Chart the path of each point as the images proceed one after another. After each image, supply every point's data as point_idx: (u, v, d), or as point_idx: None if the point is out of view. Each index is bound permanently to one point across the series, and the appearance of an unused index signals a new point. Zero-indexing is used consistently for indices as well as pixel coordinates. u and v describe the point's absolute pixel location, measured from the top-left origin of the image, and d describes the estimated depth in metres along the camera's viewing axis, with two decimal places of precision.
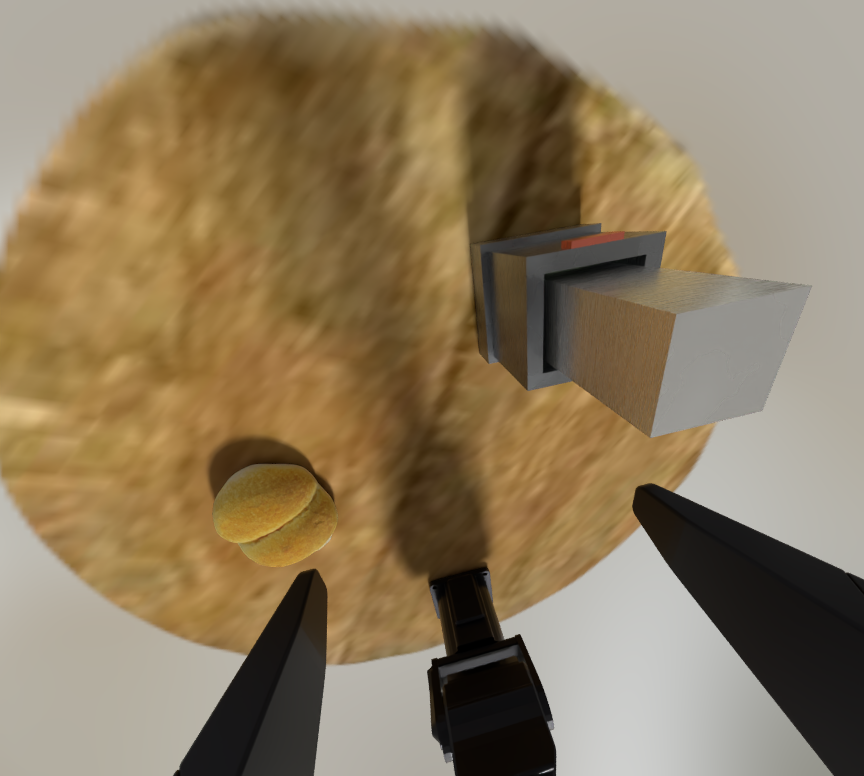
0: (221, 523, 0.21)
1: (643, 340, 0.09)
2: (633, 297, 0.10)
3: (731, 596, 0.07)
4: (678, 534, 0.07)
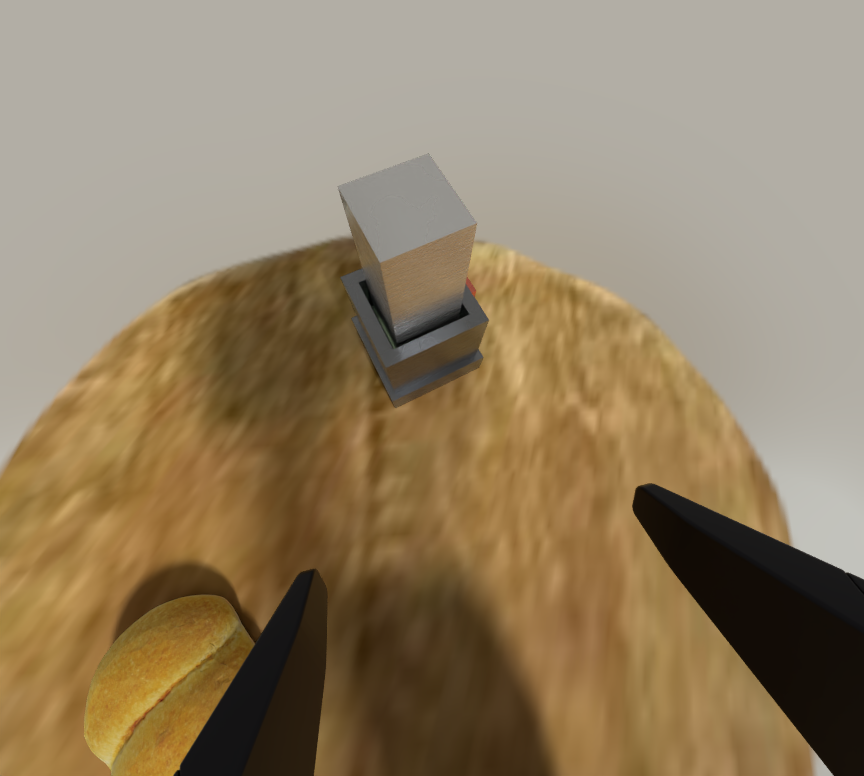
0: (91, 697, 0.16)
1: (353, 223, 0.13)
2: None
3: (731, 596, 0.07)
4: (678, 534, 0.07)
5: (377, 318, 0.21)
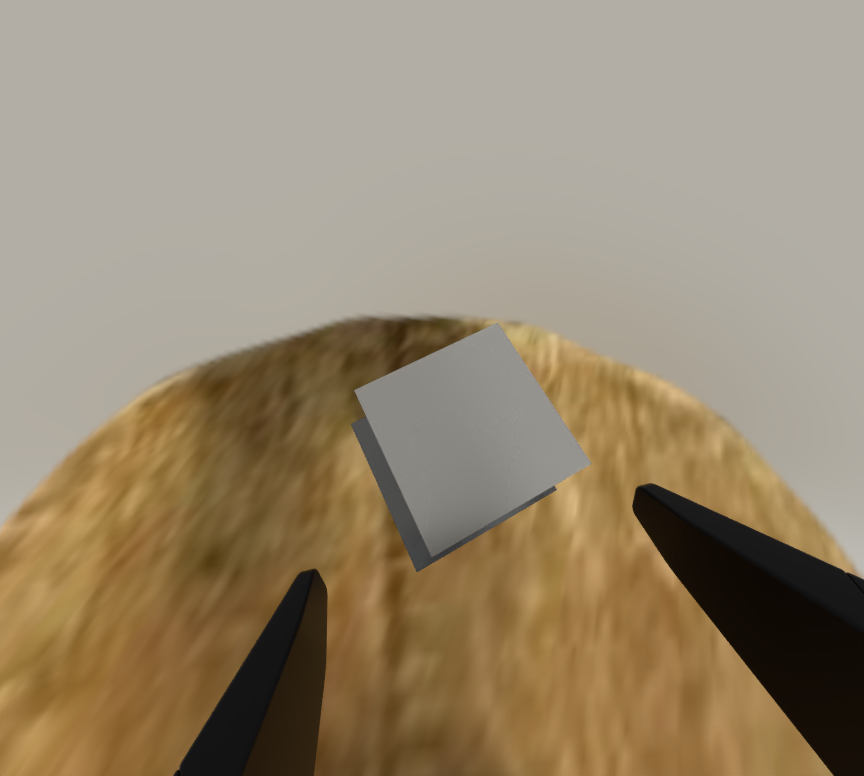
0: None
1: None
2: None
3: (731, 596, 0.07)
4: (678, 534, 0.07)
5: None
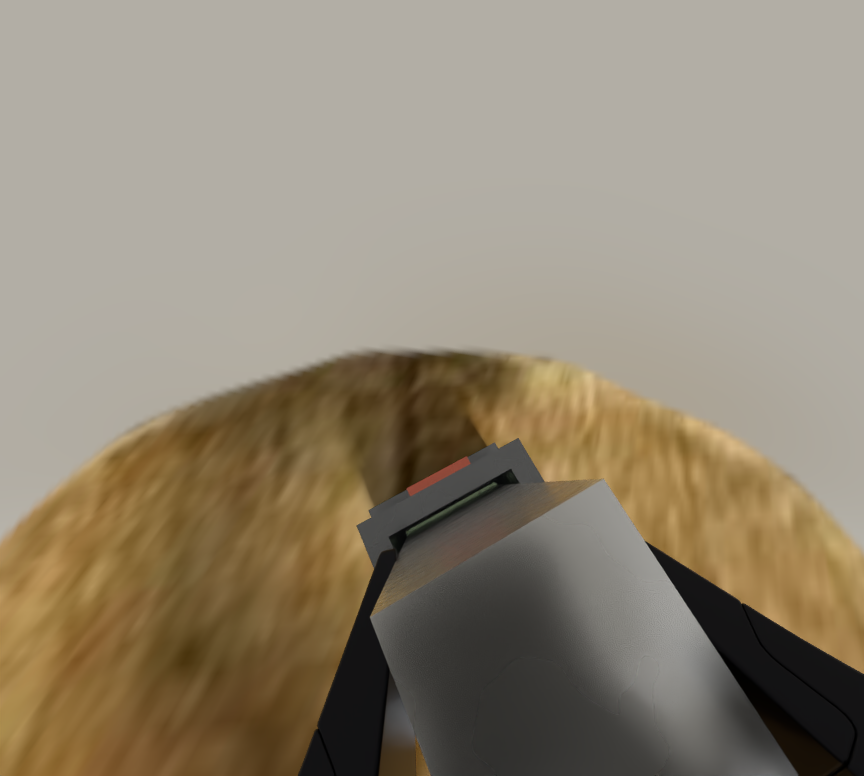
0: None
1: None
2: (405, 567, 0.06)
3: None
4: None
5: None
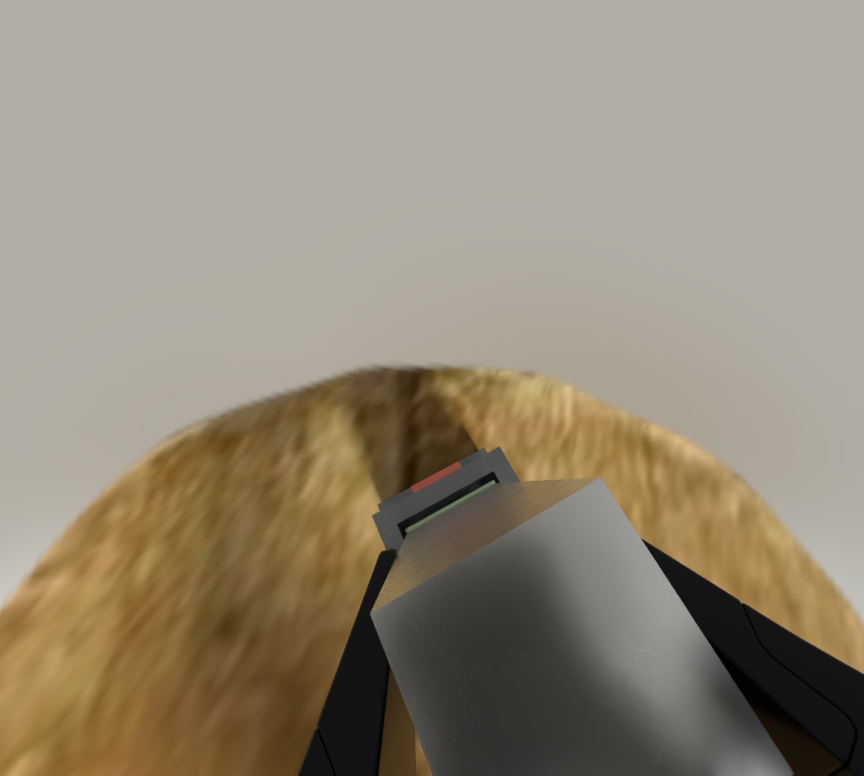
0: None
1: None
2: (405, 565, 0.06)
3: None
4: None
5: None
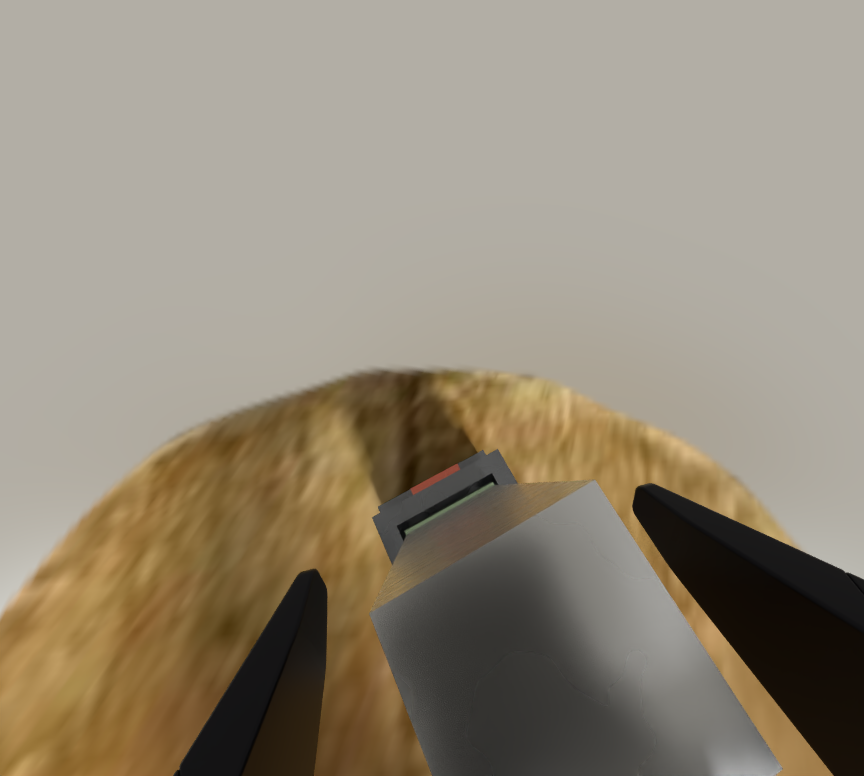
0: None
1: None
2: (404, 566, 0.06)
3: (731, 596, 0.07)
4: (678, 534, 0.07)
5: None
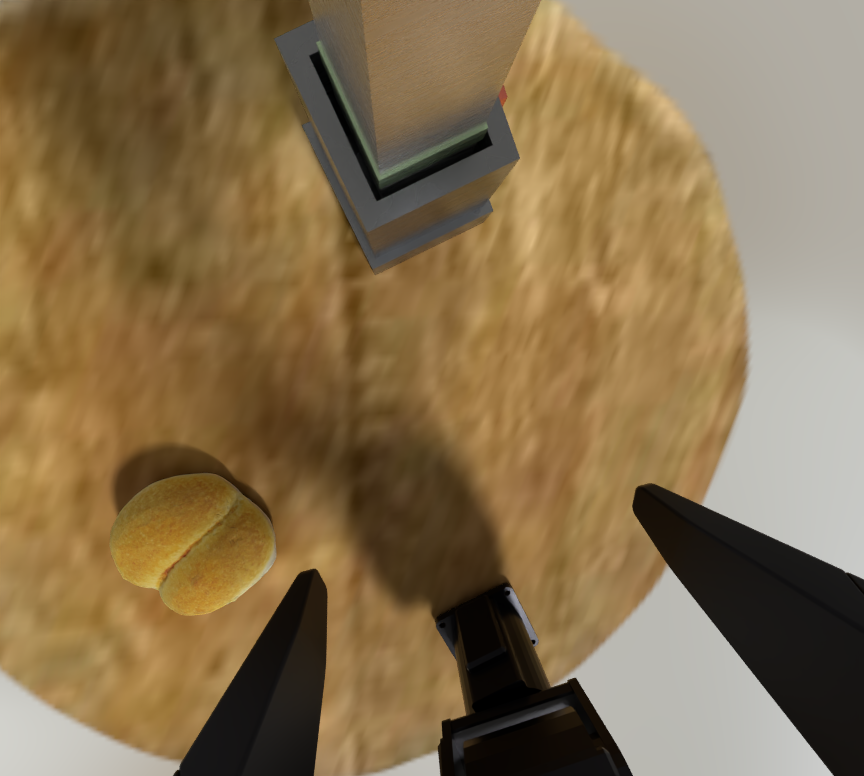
0: (115, 557, 0.17)
1: None
2: None
3: (731, 596, 0.07)
4: (678, 534, 0.07)
5: (330, 78, 0.10)
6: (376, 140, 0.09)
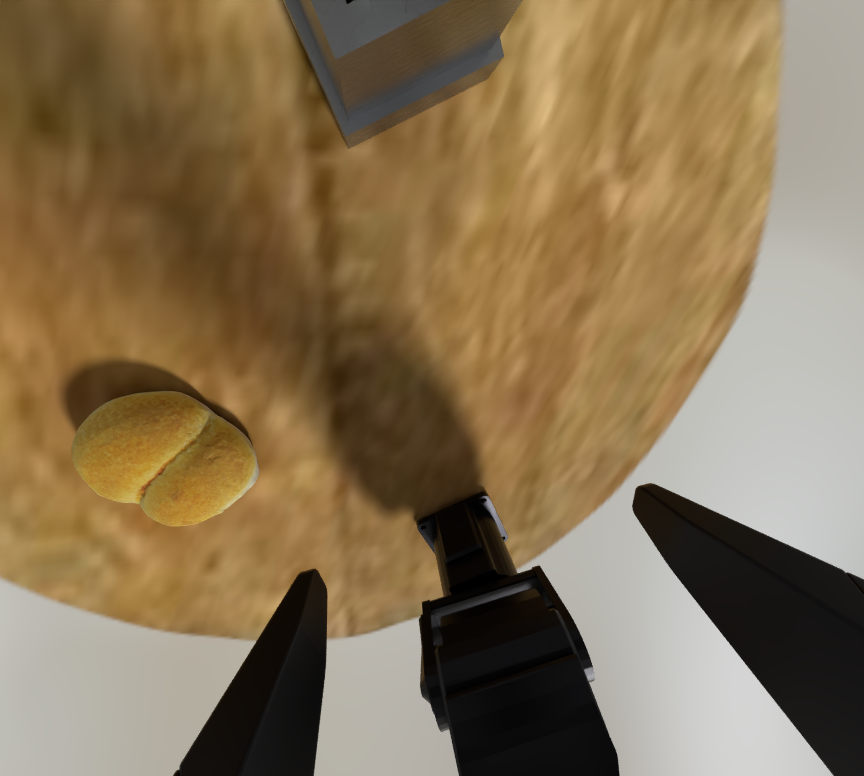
0: (83, 475, 0.17)
1: None
2: None
3: (731, 596, 0.07)
4: (678, 534, 0.07)
5: None
6: None
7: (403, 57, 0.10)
